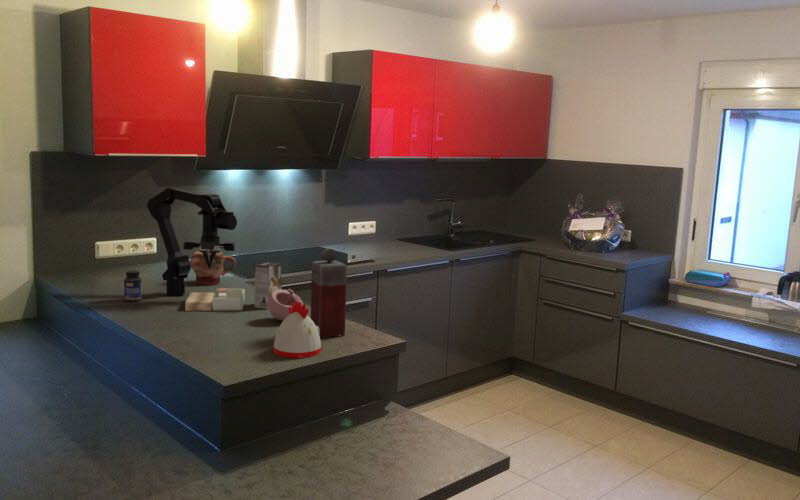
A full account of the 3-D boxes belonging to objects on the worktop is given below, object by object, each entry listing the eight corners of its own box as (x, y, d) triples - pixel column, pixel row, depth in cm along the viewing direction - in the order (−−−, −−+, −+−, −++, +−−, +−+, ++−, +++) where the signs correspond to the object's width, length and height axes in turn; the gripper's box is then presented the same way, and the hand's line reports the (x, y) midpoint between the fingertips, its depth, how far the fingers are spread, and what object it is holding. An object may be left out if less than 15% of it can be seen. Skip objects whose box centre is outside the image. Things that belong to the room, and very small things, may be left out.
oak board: (185, 310, 244) (185, 302, 244) (190, 300, 260) (190, 292, 260) (211, 310, 246) (211, 302, 245) (215, 300, 262) (215, 292, 262)
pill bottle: (125, 302, 253) (124, 273, 251) (123, 299, 258) (122, 270, 256) (142, 301, 255) (142, 272, 254) (140, 298, 261) (140, 269, 259)
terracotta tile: (219, 290, 255) (226, 290, 256) (219, 288, 260) (226, 288, 260) (219, 302, 256) (225, 302, 257) (219, 299, 260) (226, 299, 261)
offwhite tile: (218, 295, 247) (225, 295, 248) (219, 292, 252) (226, 292, 252) (218, 307, 248) (225, 307, 248) (219, 304, 252) (226, 304, 253)
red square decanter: (333, 327, 230) (335, 245, 226) (345, 335, 220) (347, 250, 216) (307, 329, 226) (309, 245, 222) (318, 338, 216) (320, 250, 212)
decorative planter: (235, 280, 302) (235, 249, 300) (236, 285, 290) (236, 253, 288) (188, 280, 297) (188, 249, 295) (187, 286, 285) (186, 253, 283)
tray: (212, 310, 246) (212, 298, 245) (216, 300, 262) (216, 288, 262) (242, 310, 248) (242, 298, 247) (244, 300, 264) (244, 288, 264)
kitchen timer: (294, 361, 192) (294, 309, 190) (264, 350, 201) (264, 300, 199) (330, 351, 202) (331, 302, 200) (300, 341, 211) (301, 294, 209)
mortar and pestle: (286, 326, 228) (287, 293, 226) (260, 321, 234) (260, 288, 232) (309, 320, 238) (310, 287, 236) (283, 314, 244) (284, 283, 242)
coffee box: (267, 302, 262) (267, 261, 259) (281, 304, 259) (282, 263, 257) (253, 307, 253) (254, 264, 251) (268, 309, 251) (269, 266, 248)
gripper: (180, 229, 249) (180, 271, 251) (233, 231, 252) (232, 272, 254) (186, 225, 260) (185, 265, 262) (236, 227, 263) (235, 267, 265)
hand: (209, 267), depth 261 cm, fingers closed
